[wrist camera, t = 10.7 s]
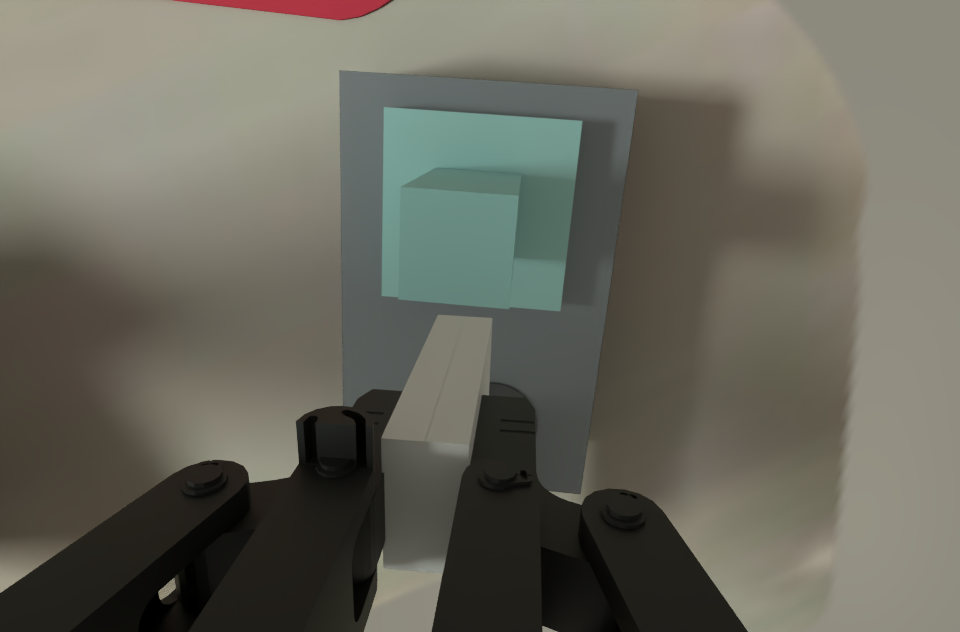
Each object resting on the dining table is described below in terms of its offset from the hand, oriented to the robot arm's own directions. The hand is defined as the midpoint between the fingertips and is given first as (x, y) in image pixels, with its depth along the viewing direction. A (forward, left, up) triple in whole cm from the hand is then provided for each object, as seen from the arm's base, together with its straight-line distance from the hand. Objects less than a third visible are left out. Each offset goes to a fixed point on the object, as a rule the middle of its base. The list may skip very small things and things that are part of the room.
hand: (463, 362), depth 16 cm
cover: (-1, +2, -15) cm, 15 cm away
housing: (-1, -3, -20) cm, 21 cm away
